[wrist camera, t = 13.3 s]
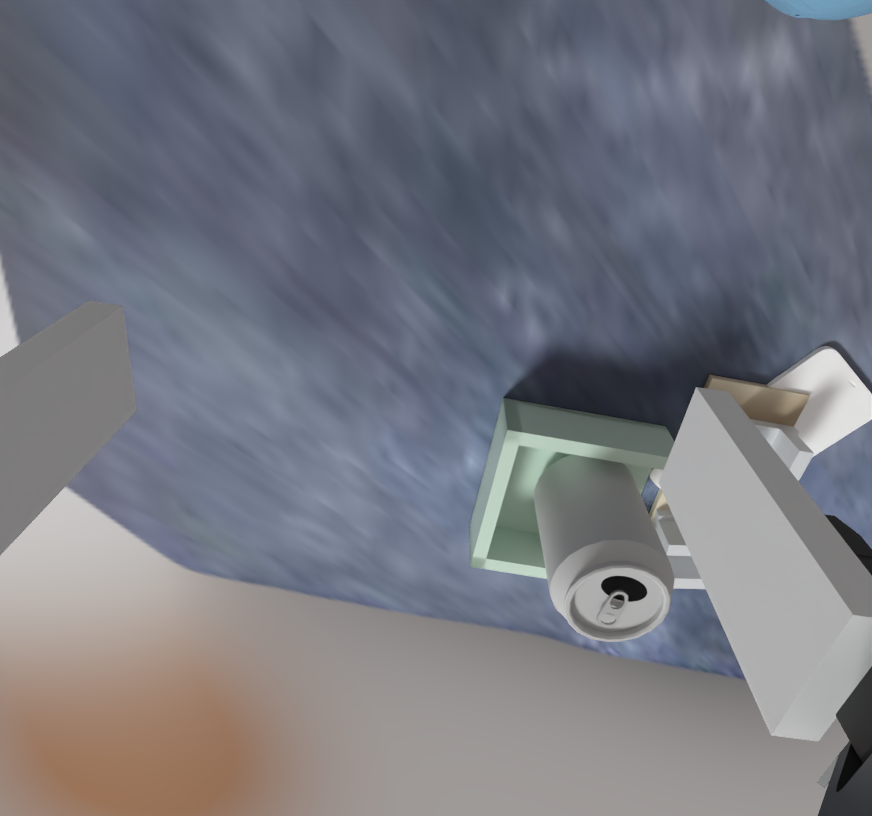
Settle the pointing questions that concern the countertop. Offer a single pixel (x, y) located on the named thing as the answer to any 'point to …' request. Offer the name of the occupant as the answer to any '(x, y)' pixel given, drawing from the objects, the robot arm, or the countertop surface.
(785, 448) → the clip
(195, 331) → the countertop surface
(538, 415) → the green open box
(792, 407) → the board
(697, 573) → the clip
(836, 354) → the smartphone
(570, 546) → the can
